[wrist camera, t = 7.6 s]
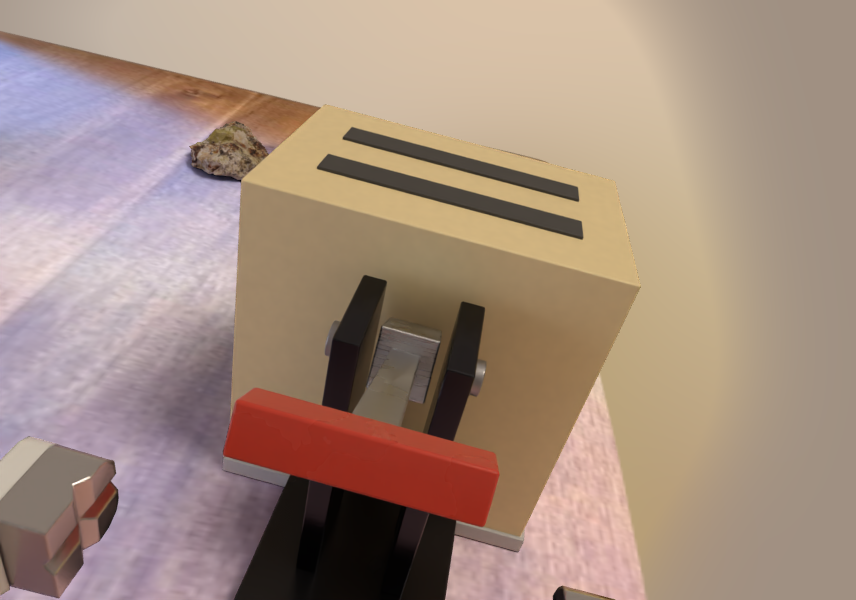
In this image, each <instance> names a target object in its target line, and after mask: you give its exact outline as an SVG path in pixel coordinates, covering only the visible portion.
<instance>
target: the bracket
mask: <svg viewBox="0 0 856 600" xmlns="http://www.w3.org/2000/svg"><path fill="white" fill-rule="evenodd" d="M386 287H387V281H386V280H383V279H379V278H375V277H372V276H368V275H364V276H363V277H362V279H361V281H360V283H359V285H358V287H357V289H356V291H355V293H354V295H353V297H352V299H351V301H350V303H349V305H348V307H347V309H346V311H345V313H344V315H343V318H342V320H341V321H337V320H335V321H334V322H333V323H332V325H331V328H330V330H329V333H328V336H327V340H326V344H325V355H326V356H329V361H328V368H327V374H326V380H325V387H324V393H323V399H322V406H326V407H330V408H333V409H337V410H341V411H344V412H348V413H352V412H353V411H354V409H355V407H356V406H357V404H358V403H359V401H360V399H361V398H362V396H363V394H364V392H365V387H366V382H367V378H368V373H369V368H370V363H371V358H372V354H373V349H374V344H375V339H376V334H377V330H378V325H379V320H380V315H381V311H382V306H383V301H384V296H385V291H386ZM484 316H485V307H483V306H479V305H475V304H472V303H468V302H464V301H462V302H461V304H460V308H459V311H458V314H457V318H456V321H455V325H454V328H453V331H452V335H451V338H450V342H449V345H448V348H447V352H446V355H445V359H444V362H443V365H442V369H441V372H440V376H439V379H438V382H437V386H436V389H435V393H434V396H433V399H432V403H431V406H430V410H429V413H428V417H427V420H426V423H425V427H424V430H423V433H425V434H428V435H432V436H435V437H439V438H443V439H446V440H450V441H454V439H455V436H456V433H457V430H458V427H459V424H460V421H461V418H462V415H463V412H464V409H465V406H466V403H467V400H468V397H469V395H472V396H476V397H477V396H478V395H479V393H480V390H481V387H482V384H483V380H484V376H485V372H486V365H487V363H486V361H484V360H481V359H478V355H479V349H480V342H481V335H482V329H483V322H484ZM455 528H456V520H453V519H449V518H446V517H442V516H438V515H435V514H431V513H428V512H424V511H420V510H417V509H413V508H409V507H406V506H402V505H399V504H395V503H391V502H388V501H384V500H380V499H377V498H373V497H370V496H366V495H362V494H359V493H355V492H352V491H348V490H344V489H341V488H337V487H333V486H330V485H326V484H323V483H319V482H315V481H312V480H308V479H305V478H301V477H297V476H294V475H290V476H289V478H288V480H287V483H286V485H285V487H284V489H283V491H282V494H281V496H280V498H279V500H278V503H277V505H276V507H275V509H274V511H273V514H272V516H271V518H270V520H269V523H268V525H267V527H266V529H265V531H264V534H263V536H262V538H261V540H260V543H259V545H258V547H257V549H256V551H255V554H254V556H253V558H252V560H251V563H250V565H249V567H248V569H247V571H246V574H245V576H244V578H243V580H242V583H241V585H240V587H239V589H238V591H237V594H236V596H235V598H234V600H445V597H446V590H447V583H448V576H449V569H450V563H451V556H452V549H453V542H454V535H455Z"/></svg>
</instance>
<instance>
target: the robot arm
mask: <svg viewBox="0 0 856 600" xmlns="http://www.w3.org/2000/svg"><path fill="white" fill-rule="evenodd" d="M115 474H116V469H115V463H114V461H112V460H109V459H106V458H102V457H99V456H95V455H92V454H88V453H85V452H82V451H78V450H75V449H71V448H68V447H65V446H61V445H59V444H56V443H52V442H48V441H45V440H41V439H37V438H34V437H30V436H29V437H27V438H25V439H23V440H21V441H20V442H18V443H17V444H16V445H15V446H14V447H13V448H12V449H11V450H10V451H9V452H8V453H7V454H6V455H5V456H4V457H3V458H2V459H1V460H0V595H2V594H4V593H5V592H7V591H8V590H10V586H11V587H15V588H19V589H23V590H27V591H31V592H35V593H39V594H43V595H47V596H51V597H55V598H60V596H61V595H62V593H63V592H64V591H65V589H66V588H67V586H68V585H69V584H70V582H71V581H72V579H73V578H74V577H75V575H76V574H77V572H78V571H79V570H80V568H81V567H82V565H83V564H84V563H83V550H84V549H86V548H88V547H90V546H92V545H93V544H95V543H97V542H99V541H100V540H101V538H102V537H103V535H104V534H105V532H106V531H107V529H108V528H109V526H110V524H111V522H112V519H113V517H114V515H115V513H116V510H117V505H118V499H119V498H118V489H117V488H116V487H115V486H114V485H113V483H112V482H111V480H112V478H113V477H114V476H115ZM553 600H615V599H611V598H608V597H604V596H600V595H596V594H592V593H588V592H585V591H581V590H577V589H573V588H569V587H565V586H561V587H559V588H558V589H557V590H556V592H555V593H554V595H553Z"/></svg>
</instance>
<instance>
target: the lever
mask: <svg viewBox="0 0 856 600" xmlns="http://www.w3.org/2000/svg"><path fill="white" fill-rule="evenodd" d="M441 336H442V331H441V330H437V329H433V328H430V327H426V326H422V325H419V324H415V323H411V322H408V321H404V320H400V319H397V318H393V317H390V318H389V319H388V320H387V321H386V322H385V323H384V324H383V326H382V327H381V330H380V334H379V337H378V341H377V345H376V349H375V353H374V356H373V360H372V364H371V368H370V372H369V376H368V379H367V383H366V388H367V390H366V391H365V393H364V394H363V396H362V398H361V399H360V401H359V403H358V404H357V406H356V407H355V409H354V411H353V412H352V413H348V412H344V411H341V410H337V409H333V408H330V407H326V406H322V405H319V404H315V403H311V402H308V401H304V400H300V399H297V398H293V397H290V396H286V395H282V394H279V393H275V392H271V391H268V390H264V389H260V388H253V389H251V390H250V391H248V392H247V393H246V394H244V395H243V396H241V397H240V398H238V399H237V400H236V401H235V403H234V407H233V412H232V416H231V420H230V424H229V428H228V432H227V436H226V441H225V445H224V449H223V455H224V456H225V457H229V458H232V459H236V460H239V461H243V462H247V463H250V464H254V465H257V466H261V467H265V468H268V469H272V470H276V471H279V472H283V473H286V474H290V475H294V476H297V477H301V478H305V479H308V480H312V481H315V482H319V483H323V484H326V485H330V486H333V487H337V488H341V489H344V490H348V491H352V492H355V493H359V494H362V495H366V496H370V497H373V498H377V499H380V500H384V501H388V502H391V503H395V504H399V505H402V506H406V507H409V508H413V509H417V510H420V511H424V512H428V513H431V514H435V515H438V516H442V517H446V518H449V519H453V520H456V521H460V522H464V523H467V524H471V525H475V526H478V527H484V525H485V524H486V521H487V518H488V515H489V511H490V508H491V504H492V501H493V497H494V494H495V490H496V487H497V483H498V480H499V476H500V473H499V468H498V463H497V458H496V454H495V453H493V452H490V451H487V450H483V449H479V448H476V447H472V446H468V445H465V444H461V443H457V442H454V441H450V440H446V439H443V438H439V437H435V436H432V435H428V434H425V433H421V432H417V431H414V430H410V429H406V428H403V427H401V424H402V421H403V418H404V414H405V411H406V408H407V404H408V401H413V402H417V403H420V404H423V403H424V402H425V398H426V395H427V391H428V387H429V384H430V380H431V376H432V373H433V369H434V365H435V362H436V358H437V354H438V351H439V347H440V343H441Z"/></svg>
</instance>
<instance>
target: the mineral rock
mask: <svg viewBox="0 0 856 600" xmlns="http://www.w3.org/2000/svg"><path fill="white" fill-rule="evenodd" d="M189 147H190V148H191V149H192V150H191V157H192V164H191V165H192V166H193V167H194V168H199V169H203V170H204V171H205V172H207V174H214V175H219V176H220V175H224V176H232V177H233V178H235V179H237V180H242V179H243V178H244V177H245V176H246V175H247V174H248V173H249V172H250V171H251V170H253V169H254V168H255V167H256V166H257V165H258V164H259V163H260V162H261V161H263V160H264V159H265V158H266V157H267V156H268V155H269V154H268V153H267V151H266V149H265V147H264V146H262V144H261V143H260V142H259V141H258V140H257V138H256V137H255V136H253V134H252V131H251V129H250V128H248V127H246V126H244V124H241V123H239V122H231V123H229V124H225V125H224V126H223V127H220V128H219V129H215V130H214V131H213V132H212V134H210V135H209V137H208V138H207V139H206V140H204V141H203V142H197V143H196V144H194V145H192V146H189Z"/></svg>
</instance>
